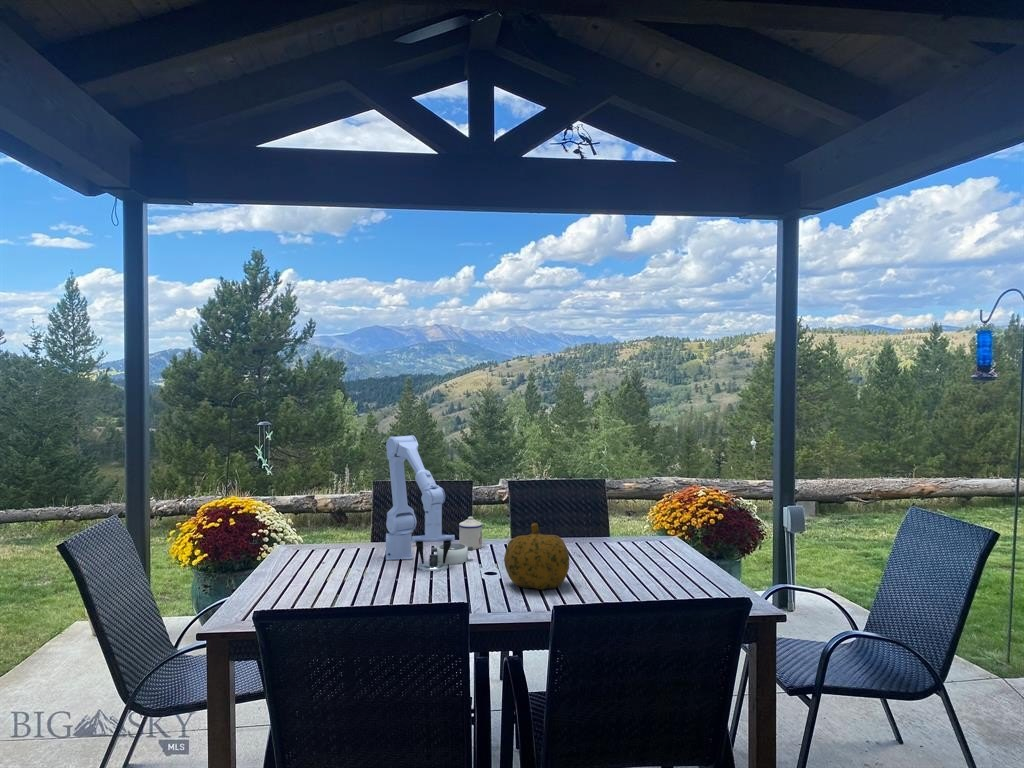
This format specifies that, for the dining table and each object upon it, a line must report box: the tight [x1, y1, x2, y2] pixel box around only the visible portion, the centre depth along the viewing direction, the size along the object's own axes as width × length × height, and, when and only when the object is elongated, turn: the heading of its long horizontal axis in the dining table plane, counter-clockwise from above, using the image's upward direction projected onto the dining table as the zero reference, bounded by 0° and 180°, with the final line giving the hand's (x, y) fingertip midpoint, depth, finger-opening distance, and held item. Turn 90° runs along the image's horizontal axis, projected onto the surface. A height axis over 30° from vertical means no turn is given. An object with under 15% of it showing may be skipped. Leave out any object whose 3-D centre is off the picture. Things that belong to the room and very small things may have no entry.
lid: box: [418, 553, 449, 572], centre depth 251 cm, size 10×10×4 cm
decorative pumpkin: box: [503, 522, 570, 591], centre depth 229 cm, size 20×21×20 cm
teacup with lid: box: [458, 516, 483, 550], centre depth 282 cm, size 12×9×12 cm
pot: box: [431, 543, 474, 565], centre depth 260 cm, size 15×11×5 cm
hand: (433, 562), depth 250 cm, fingers open, 7 cm apart
